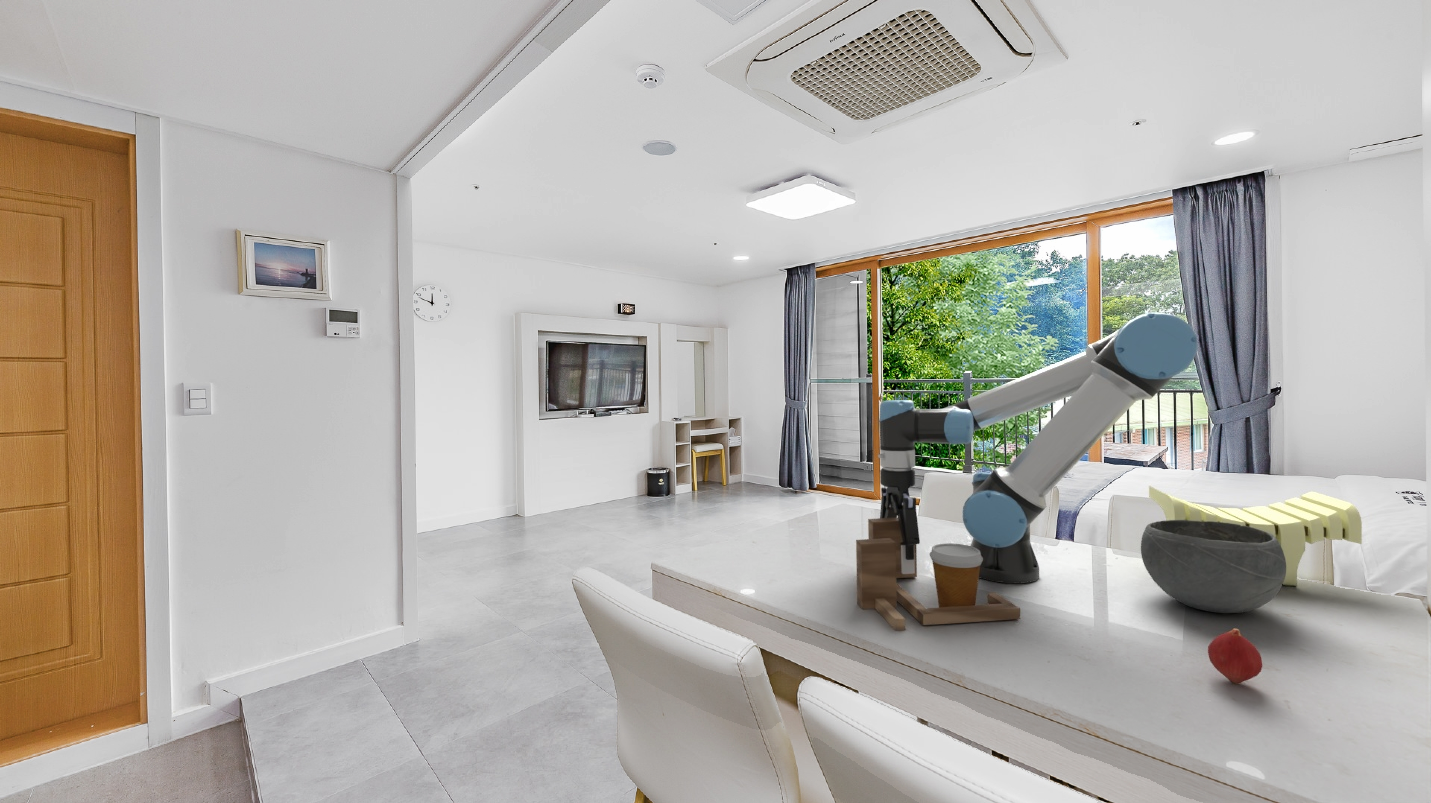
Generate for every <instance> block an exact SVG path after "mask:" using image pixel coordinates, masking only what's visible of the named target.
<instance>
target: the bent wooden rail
mask: <svg viewBox="0 0 1431 803" xmlns="http://www.w3.org/2000/svg"><path fill="white" fill-rule="evenodd" d="M867 522H868V524H867V528H868V533H867V534H868V539H882V538H890V539H892V540H893V541H895V542H896V579H906V578H907V579H908V578H918V567H917V566H918V565H917V561H918V560H917V557H918V556H917V552H918V551H917V544H915V545H914V551H915V574H902V573H901V545H900V543H901V542H903V540H902V535H901V530H900V525H899V520H898V517H897V518H880V517H878V518H868V520H867ZM896 592H897V602H898V603H899V604H900V605H901V606H902V607H903V608H905V610H906V611H907V612H908V613H910V615H912V616H913V617H914V618H915V619H916V620H917V621H919V623H920V624H921V625H922V626H929V625H930V626H932V625H933V626H935V625H946V624H962V623H963V624H964V623H976V622H991V621H993V622H995V621H1006V620H1007V621H1009V620H1020V619H1021V607H1019V606H1017V605H1016V604H1015V603H1013V602H1011V601H1009V600H1008V599H1006V598H1005V597H1004V596H1002V595H1000V594H999V593H997V592H989V593H988V592H987V594H986V598H987V599H986V604H975V605H972V606H956V607H940V608H939V607H928V608H927V607H926V606H924V604H922V603H921V602H920V601H919V600H918V599H916V598H915V597H914V596H913V595H912V594H910V593H909V592H908V591H907V590H906V589H904V587H902V586H901V585H900V584H899V583H898V582H896Z"/></svg>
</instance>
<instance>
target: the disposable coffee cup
mask: <svg viewBox="0 0 1431 803" xmlns="http://www.w3.org/2000/svg"><path fill="white" fill-rule="evenodd" d="M929 557H930V560H931V561H932V567H933V573H934V581H935V589H936V596H937V602H938V603H937V604H938V608H940V607H956V606H972V605H977V604H976V601H977V595H978V594H977V593H978V587H979V580H980V578H979V571H980V565H981V563H982V561H983V557H982V556H981V553H980V551H979V550H978V549H977V548H974V547H972V546H971V545H967V544H963V543H962V544H961V543H947V542H946V543H938V544H934V545H933V546H932V547H931V550H930V552H929Z"/></svg>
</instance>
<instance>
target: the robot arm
mask: <svg viewBox="0 0 1431 803" xmlns="http://www.w3.org/2000/svg"><path fill="white" fill-rule="evenodd" d="M1197 338H1198V337H1197V335H1196V332H1195V330H1194V329H1193V328H1192V326H1191V325H1190V324H1189V323H1188V322H1187V321H1185V319H1182V318H1180V317H1178V316H1177V315H1174V314H1171V313H1164V312H1156V311H1155V312H1148V313H1147V312H1146V313H1143V314H1139V315H1137V316H1134V317H1133V318H1131V319H1129V320H1128V321H1126V322H1125V323H1124V324H1123V325H1122V326H1121V327H1120V328H1119V329H1117V330H1115V332H1112V333H1111V334H1109V335H1107V336H1106V337H1104V338H1102V339H1099V340H1097V341H1095V342H1093V343H1090V344H1088V346H1086V349H1085V351H1083V352H1080V353H1078V354H1076V355H1073V356H1071V357H1068V358H1066V359H1064V360H1060V361H1059V362H1056V363H1054V364H1051V365H1048V366H1046V367H1044V368H1041V369H1038V370H1036V371H1034V372H1031V373H1028V374H1026V375H1024V376H1021V377H1019V378H1016V379H1014V380H1011V381H1009V382H1006V383H1004V384H1001V385H999V386H997V387H994V388H991V389H989V390H986V391H984V392H981V393H979V394H977V395H974V396H971V397H969V398H967V399H963V400H962V401H959V402H956V403H954V404H950V405H949V406H945V407H944V408H932V409H931V408H929V409H928V408H926V409H925V408H924V409H923V408H922V409H921V408H916V406H915V403H914V401H913V400H910V399H908V400H907V399H905V400H904V399H895V400H893V399H891V400H890V399H889V400H888V399H887V400H883V401H882V402H881V403H880V405H879V418H878V419H879V420H878V424H879V454H878V455H877V457H878V458H879V459H880V462H879V463H880V464H879V465H880V467H882V468H880V470H879V472H880V473H879V474H880V475H879V478H880V479H879V480H880V481H879V482H880V484H881V486H883V487H881V488H880V492H881V499H880V500H881V501H880V512H879V514H880V515H879V518H898V520H899V525H900V530H901V535H902V540H903V542H901V543H900V545H901V573H902V574H915V551H914V545H915V544H916V545H920V543H921V542H920V533H919V531H920V530H919V525H918V524H919V523H918V514H917V498H916V497H911V496H910V492H909V489H910V488H912V487H914V486H915V485H916V471H915V469H914V468H915V466H916V450H915V443H917V444H919V443H920V444H921V443H922V444H923V443H928V444H946V445H954V446H955V445H968V444H970V443H972V441H973V437H974V432H976V431H979V430H981V429H983V428H987V427H989V426H992V425H996V424H998V423H1000V422H1003V421H1005V420H1009V419H1011V418H1013V417H1016V416H1019V415H1022V414H1025V413H1027V412H1030V411H1033V410H1036V409H1038V408H1042V407H1044V406H1047V405H1049V404H1052V403H1055V402H1057V401H1060V400H1063V399H1065V398H1069V397H1070V398H1069V399H1068V400H1067V401H1066V402H1065V403H1064V404H1063V405H1062V407H1061V408H1060V409H1059V410H1058V411H1057V412H1056V414H1054V416H1053V417H1052V418H1051V419H1050V420H1049V421H1048V422H1047V423H1046V424H1045V425H1044V427H1043V428H1041V430H1039V432H1038V433H1037V434H1036V435H1035V436H1034V438H1033V439H1032V440H1031V441H1030V442H1029V443H1028V444H1027V445H1026V447H1024V449H1023V450H1021V452H1020V453H1019V454H1018V455H1017V456H1016V457H1015V459H1013V461H1012V462H1011V463H1010V464H1009V465H1008V466H1007V467H998V468H997V467H996V468H995V469H994V470H993V471H992V472H975V473H974V474H973V476H972V482H971V485H972V494H971V495H970V496H969V497H968V498H967V499H966V500H965V501H964V505H963V506H962V522H963V525H964V528H965V529H966V531H967V532H968V534H969V535H970V536H971V537H972V541H971V543H970V546H972V547H974V548H977V549H978V550H979V551H980V553H981V556H982V557H983V561H982V563H981V565H980V571H979V579H982V580H988V581H991V582H997V583H1003V584H1004V583H1005V584H1026V583H1027V584H1028V583H1032V582H1036V581H1038V580H1039V579H1040V566H1039V563H1038V560H1037V557H1036V554H1035V552H1034V549H1033V546H1032V543H1031V524H1032V523H1033V522H1034V521H1035V520H1036V519H1037V518H1038V516H1040V514H1041V513H1043V511H1044V510H1045V509H1046V508H1047V500H1046V497H1047V495H1048V493H1050V492H1051V491H1052V490H1053V489H1054V487H1055V486H1056V485H1057V484H1059V482H1060V481H1061V480H1063V478H1064V477H1065V476H1066V475H1067V474H1068V473H1069V472H1070V471H1071V470H1072V469H1073V468H1074V467H1075V465H1076V464H1078V462H1080V460H1081V459H1082V458H1083V457H1084V456H1085V455H1086V454H1087V453H1088V452H1089V451H1090V450H1091V449H1092V447H1094V446H1095V445H1096V444H1097V442H1098V441H1099V440H1100V439H1101V438H1102V437H1103V436H1104V435H1105V434H1106V433H1108V431H1109V430H1110V429H1111V428H1112V427H1113V426H1114V425H1115V424H1116V423H1118V421H1119V420H1120V419H1121V418H1122V417H1123V415H1124V414H1125V413H1126V412H1127V411H1128V410H1129V409H1130V408H1131V407H1132V406H1133V405H1134V404H1135V403H1136V402H1138V401H1143V400H1152V398H1153V397H1154V396H1155V395H1156V394H1158V393H1159V391H1161V390H1162V388H1164V386H1165V385H1167V383H1168V382H1170V380H1172V378H1173V377H1175V376H1177V375H1179V374H1180V373H1181V372H1184V371H1185V370H1186V369H1187V368H1188V367H1190V365H1191V364H1192V362H1193V361H1194V360H1195V358H1196V357H1195V356H1196V355H1197V352H1198V344H1199V343H1198V339H1197Z"/></svg>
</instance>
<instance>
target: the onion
mask: <svg viewBox="0 0 1431 803" xmlns="http://www.w3.org/2000/svg"><path fill="white" fill-rule="evenodd" d="M1207 655H1208V658H1209V662H1210V663H1211V664H1212V666H1213V668H1215V669H1216V670H1217V671H1218V672H1219V673H1220V674H1222V675H1223V677H1225V678H1227V680H1229V682H1231V683H1233V684H1242V683H1244V682H1246V681H1248V680H1251V679H1253V678H1256V677H1257V676H1258V675H1259V674H1260V673H1261V672H1262V668H1263V658H1262V656H1261V653H1260V651H1259V650H1258V648H1257V647H1256V646H1255V645H1254V644H1253V643H1252V642H1251V641H1250V640H1249V639H1247V638H1246V637H1244V636H1243V635H1242V634H1241V631H1240V629H1238V628H1232V630H1230V631H1227V632H1224V633H1222V634H1219V635H1217V636H1216V637H1215V638H1214V639H1213V640H1211V642H1210V643H1209V644H1208V647H1207Z"/></svg>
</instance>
